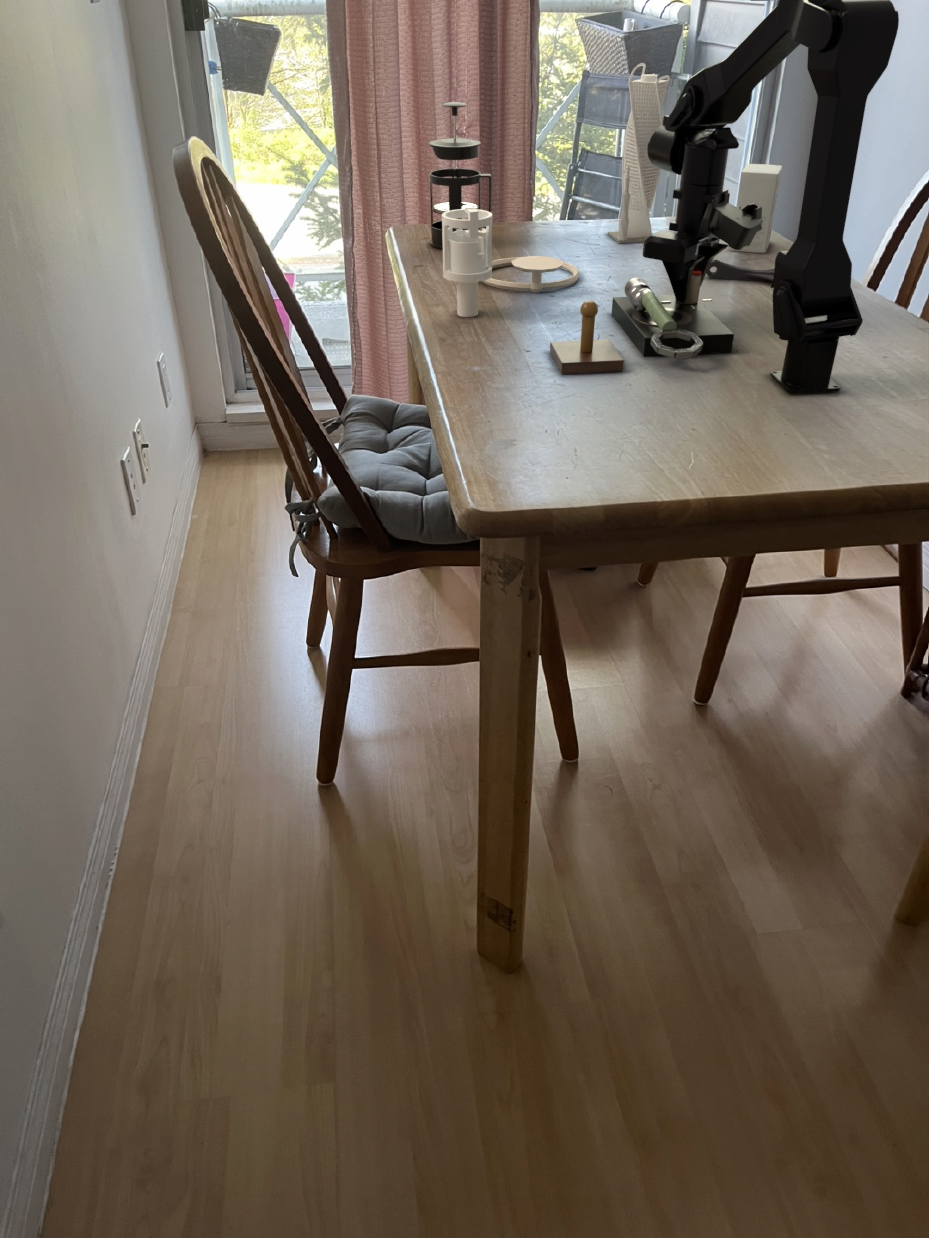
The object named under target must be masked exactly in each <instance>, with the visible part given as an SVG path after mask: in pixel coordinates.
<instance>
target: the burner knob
mask: <svg viewBox="0 0 929 1238" xmlns="http://www.w3.org/2000/svg"><path fill="white" fill-rule="evenodd" d="M701 273H702V272H701V271H693V273H692V277H691V281H690V285H689V289H688V293H687V296H686V300H685V302H684V303H680V304H688V305H689V304H696V303H697V302H698V300H699V298H700V297H699V296H700V290H701V287H700V283H701ZM675 301H676V299H675ZM676 302H677V301H676ZM677 303H679V302H677Z"/></svg>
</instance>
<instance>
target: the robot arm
mask: <svg viewBox="0 0 929 1238" xmlns="http://www.w3.org/2000/svg"><path fill="white" fill-rule="evenodd" d="M899 22H900V18H899V11H898V10H896V8H895V6H894V3H893V2H892V1H891V0H778V2H777V4H776V6H775V7H774V8H773V9H772V10H771V11H770V12H769V13H767V15H766V16H765V17H764V18H763V19H762V20H761V21H760V22H759V23H758V24H757V25H756V27H754V29H752V31H751V32H750V33H749V34H747V36H746V37H745V38H744V39H743V40H742V41H741V42H740V43H739V44H738V45H737V46H736V48H734V50H733V51H732V52H731V53H729V55H728V56H727V57H725V58H724V59H723V60H721V61H718V62H716V63H713V64H711V65H708V66H706V67H704V68H702V69H701V70H699V71H698V72H697V73H695V74H694V75H692V76H691V77H690V78H688V79H687V81H686V83H685V84H684V86H683V89H682V91H681V93H680V96H679V98H678V100H677V101H676V104H674V107H673V109H672V111H671V112H670V114H668V115H663V125H662V126H660V127H659V128H658V129H657V130H656V131H655V132H654V133H653V135H652V137H651V139H650V142H649V143H648V147H647V153H648V158H649V160H650V162H651V163H652V164H653V165H654V166H656V167H657V168H660V170H663V171H667V172H669V173H672V174H675V175H679V176H680V181H679V187H678V188H675V189H673V191H672V199H675V200H677V207H676V215H675V220H672V221H670V222H669V226H668V230H669V231H668V230H667V231H666V230H661V231H659V232H656V233H654V234H653V233H652V235H651V236H650V237H648V238H647V239H646V240H645V241H644V242H643V246H642V257H643V258H645V259H650V260H656V261H661V262H662V264H663V267H664V269H665V272H666V275H667V277H668V280H669V282H670V283H669V284H670V286H671V289H672V291H673V295H675V298H676V301H677V302H679V303H684V302H685V300H686V296H687V293H688V289H689V285H690V281H691V277H692V273H693V271H701V272H702V273H701V283H700V288H701V286H702V284H703V282H704V279H705V277H706V276H707V274H706V273H707V270H708V268H709V266H710V264H711V262H712V260H714V258H715V257H716V256H717V255H719V254H720V253H722V252H723V251H724V250H726V249H727V248H728V247H729V248H733V249H735V250H741V249H742V248H743V247H745V246H749V245H750V244H751V242H752V240H753V238H754V236H755V234H756V232H758V231H760V230H761V229H762V225H761V224H762V222H763V220H762V219H761V218H762V207H761V206H759V205H758V204H756V203H754V202H753V203H751V204H749V205H747V206H746V207H744V208H743V209H741V207H740V206H737V205H736V206H735V205H733V204H732V203H730V196H731V193H730V192H729V189H725V188H724V185H725V178H726V172H727V165H728V164H727V163H728V157H729V151H730V150H734V149H735V150H736V149H738V148H739V146H740V143H739V141H738V138H737V137H736V136H735V135H734V134H733V132H732V128H731V127H730V126H727V125H733V124H735V123H736V122H737V121H738V120H739V119H740V117H742V115H743V113H744V112H745V111H746V110H747V108H748V107H749V106H750V105H751V102H752V99H753V91H754V90H755V88H756V87H757V86H758V84H760V83H761V82H762V81H763V80H764V79H765V78H766V77H767V76H768V75H769V74H770V73H771V72H772V71H773V70H775V68H777V67H778V66H779V65H780V64H781V63H782V62H783V61H784V60H786V58H787V57H789V55H791V53H792V52H794V51H795V50H796V49H797V48H798V47H799V46H800V45H802V46H804V47H806V48H807V63H806V64H807V66H806V68H807V71H808V74H809V76H810V80H811V82H812V85H813V88H814V90H815V93H816V96H817V101H816V103H817V104H816V109H815V115H814V122H813V128H812V135H811V141H810V148H809V149H810V150H809V155H808V163H807V168H806V176H805V177H806V178H805V183H804V189H803V197H802V204H801V210H800V217H799V223H798V229H797V235H796V239H795V240H794V241H793V243H792V245H791V246H790V248H789V249H788V250H782V251H778V252H777V254H776V256H775V259H774V268H775V272H774V277H773V281H771V283H770V288H771V289H772V321H773V333H774V334H776V335H778V336H779V337H778V339H780V340H781V341H787V342H786V343H787V344H786V349H785V354H784V360H783V363H782V364H783V365H782V369H781V370H772V371H770V374H769V376H770V377H771V378H772V379H773V380H774V381H775V382H776V383H777V384H778V385H779V386H780V387H781V388H783V389H784V391H785V392H786V393H788V394H793V395H794V394H796V395H797V394H813V393H814V394H815V393H835V392H840V390H841V385H839V384H838V383H836V382H835V381H834V380H833V379H832V378H831V377H832V373H833V367H834V363H835V359H836V354H837V350H838V347H839V340H840V338H841V337H848V336H850V337H853V336H856V335H857V333H858V331H859V330H860V328H861V326H862V324H863V316H862V314H861V311H860V309H859V305H858V303H857V300H856V297H855V294H854V291H853V289H852V272H853V263H852V260H851V258H850V254H849V252H848V249H847V247H846V244H845V242H844V233H845V227H846V222H847V216H848V211H849V210H848V209H849V205H850V199H851V193H852V188H853V187H852V186H853V180H854V175H855V171H856V170H855V169H856V164H857V158H858V152H859V147H860V146H859V145H860V140H861V136H862V135H861V134H862V130H863V129H862V128H863V124H864V116H865V111H866V106H867V105H866V104H867V100H868V96H869V95H870V93H871V92H872V90H873V89H874V87H876V85H877V83H878V82H879V80H880V78H881V77H882V75H884V72H885V71H886V70H887V68H888V66H889V62H890V60H891V56H892V52H893V48H894V46H895V41H896V40H897V39H896V38H897V35H898V32H899V31H898V30H899V24H900V23H899ZM720 241H722V242H724V243H721V242H720ZM820 317H821V318H822V317H826V319H821V320H815V321H814V320H813V321H806V320H808V319H814V318H820Z"/></svg>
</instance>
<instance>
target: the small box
mask: <svg viewBox="0 0 929 1238" xmlns="http://www.w3.org/2000/svg"><path fill="white" fill-rule="evenodd" d="M782 171H783V165H778V164H765V163H746V164H745V166H744V167H743V168H742V170H741V171H740V179H739V186H738V194H737V201H736V207H737V206H740V207H741V209H743V208H744V207H746V206H747V205H749V204H751V203H753V202H754V203H756V204H758V205H759V206H761V207H762V218H761V219H762V220H763V222H762V224H761V225H762V229H761V230H760V231H758V232H756V234H755V236H754V238H753V240H752V242H751V244H750V245H749V246H745V247H743V248H742V249H741V250H735V249H733V248H731V247H729V248H730V251H731V252H743V253H744V252H745V253H756V254H757V253H758V254H766V252H767V251H768V248H769V246H770V242H771V237H772V231H773V225H774V218H775V212H776V206H777V201H778V195H779V189H780V183H781V176H782Z"/></svg>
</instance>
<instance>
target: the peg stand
mask: <svg viewBox="0 0 929 1238" xmlns="http://www.w3.org/2000/svg"><path fill="white" fill-rule="evenodd" d="M598 311H599V306H598V303H596V301H594V300H590V299H588V300H585V301H584V302H583V303H582V304H581V306H580V315H581V316H582V317H581V331H580V332H581V333H580V340H565V341H564V340H563V341H550V342H549V343H550V344H549V354H550V356H551V358H552V359H553V361H554V363H555V365H556V367H557V369H558V371H559V372H560V375H574V374H575V375H577V374H597V373H617V372H624V366H625V365H624V364H625V359H624V358H623V356H622V355H621V354H620V352H619V351H618V350H617V348H616V347H615V345H614V344H613V343H612V340H610V339H594V337H595V336H594V335H595V324H596V323H595V322H596V316H597V314H598V313H599V312H598Z"/></svg>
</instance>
